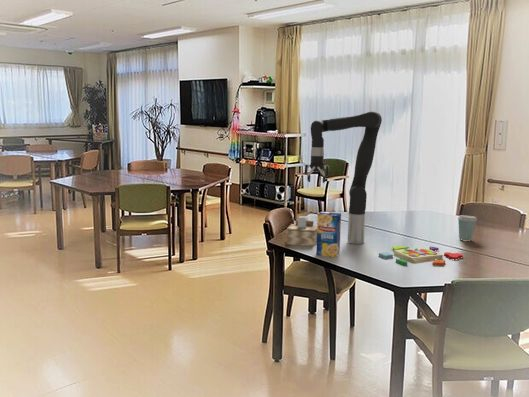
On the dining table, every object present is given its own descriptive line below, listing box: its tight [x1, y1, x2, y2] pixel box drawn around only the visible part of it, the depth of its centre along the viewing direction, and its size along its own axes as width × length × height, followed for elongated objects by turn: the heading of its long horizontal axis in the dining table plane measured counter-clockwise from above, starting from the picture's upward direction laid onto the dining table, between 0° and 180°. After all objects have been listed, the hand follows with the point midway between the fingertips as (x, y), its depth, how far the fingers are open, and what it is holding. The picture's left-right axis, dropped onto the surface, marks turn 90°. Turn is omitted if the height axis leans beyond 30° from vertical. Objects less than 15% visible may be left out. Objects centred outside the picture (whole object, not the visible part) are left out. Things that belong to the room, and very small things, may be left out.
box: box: [285, 229, 317, 247], centre depth 285 cm, size 16×12×8 cm
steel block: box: [297, 215, 309, 229], centre depth 283 cm, size 4×4×6 cm
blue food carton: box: [315, 211, 342, 258], centre depth 261 cm, size 7×11×22 cm, turn 68°
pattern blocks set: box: [378, 245, 464, 267], centre depth 261 cm, size 38×34×3 cm
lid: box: [286, 219, 317, 232], centre depth 284 cm, size 16×12×4 cm
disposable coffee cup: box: [457, 214, 478, 241], centre depth 295 cm, size 11×11×15 cm
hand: (316, 182), depth 294 cm, fingers open, 8 cm apart
